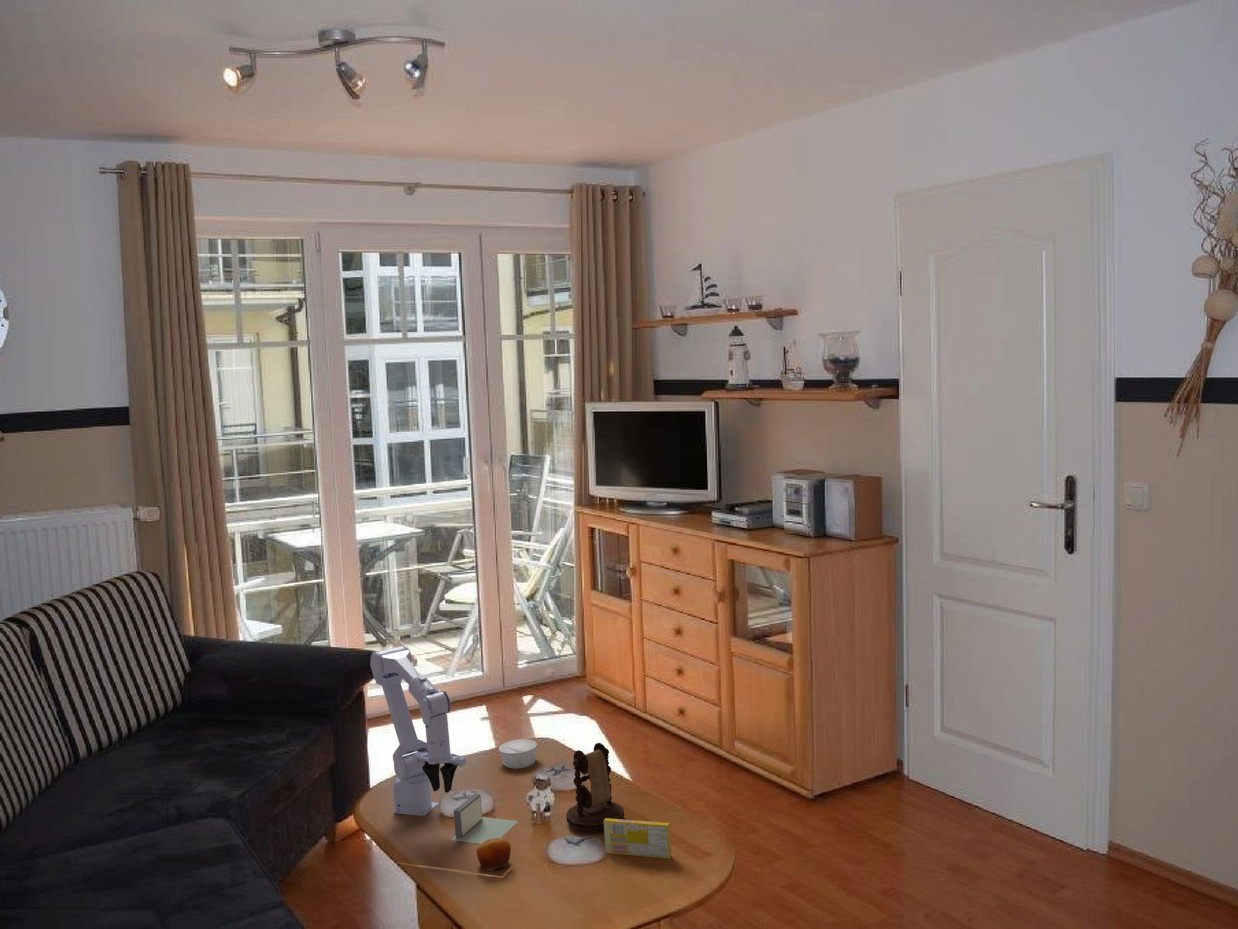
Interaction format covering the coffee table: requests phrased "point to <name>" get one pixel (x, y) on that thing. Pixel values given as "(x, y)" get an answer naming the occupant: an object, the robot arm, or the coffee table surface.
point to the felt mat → (487, 830)
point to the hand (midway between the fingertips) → (442, 790)
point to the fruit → (494, 853)
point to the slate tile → (468, 815)
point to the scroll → (593, 791)
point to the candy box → (637, 838)
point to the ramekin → (518, 753)
